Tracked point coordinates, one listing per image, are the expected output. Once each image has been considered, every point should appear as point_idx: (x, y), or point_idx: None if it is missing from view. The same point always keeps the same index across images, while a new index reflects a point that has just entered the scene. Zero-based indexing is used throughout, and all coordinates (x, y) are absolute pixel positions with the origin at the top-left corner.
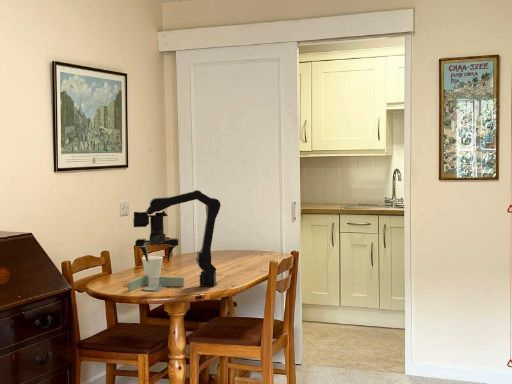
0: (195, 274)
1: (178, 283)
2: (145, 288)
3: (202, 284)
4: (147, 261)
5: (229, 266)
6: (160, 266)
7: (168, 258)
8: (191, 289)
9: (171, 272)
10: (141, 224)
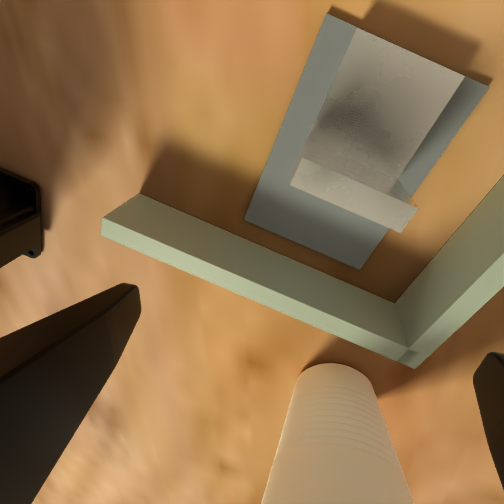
0: (141, 441)
1: (161, 214)
2: (447, 68)
3: (22, 200)
4: (500, 354)
5: (62, 496)
6: (278, 455)
7: (89, 308)
8: (59, 79)
9: (241, 493)
10: None
